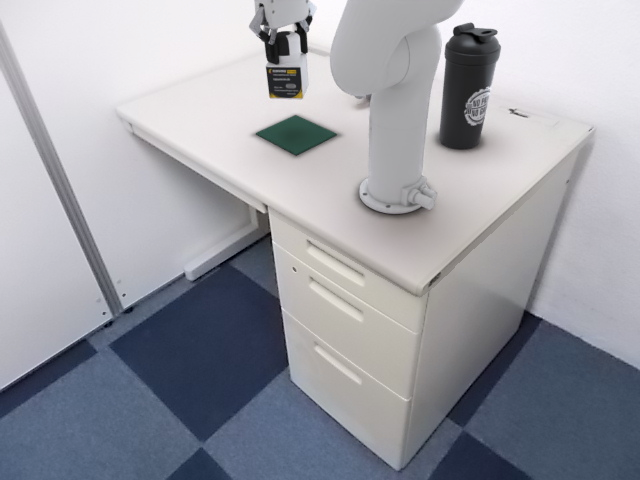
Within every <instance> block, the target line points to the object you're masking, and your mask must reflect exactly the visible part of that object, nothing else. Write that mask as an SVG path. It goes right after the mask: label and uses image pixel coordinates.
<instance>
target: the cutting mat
mask: <svg viewBox="0 0 640 480" xmlns="http://www.w3.org/2000/svg"><path fill="white" fill-rule="evenodd" d="M255 135H256V136H258V137H259V138H262V139H264V140H266V141H268V142H269V143H272V144H273V145H275V146H277V147H279V148H281V149H283V150H285V151H287V152H289V153H290V154H292V155H294V156H299V155H301V154H303V153H304V152H306V151H309V150H311V149H312V148H314V147H316V146H319V145H320V144H323V143H324V142H326V141H328V140H330V139H332V138H334V137H336V136H337V135H338V134H337V133H336V132H334V131H333V130H330V129H328V128H325V127H324V126H321V125H319V124H316V123H315V122H312V121H310V120H308V119H306V118H303V117H301V116H299V115H297V114H295V115H292V116H290V117H288V118H285V119H283V120H281V121H278V122H276V123H274V124H272V125H270V126H267V127H266V128H264V129H261V130H259V131H257V132H255Z"/></svg>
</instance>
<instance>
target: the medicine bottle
mask: <svg viewBox="0 0 640 480" xmlns="http://www.w3.org/2000/svg"><path fill="white" fill-rule="evenodd" d="M274 43H277V45H278V54H279V64H277V65H276V64H273V63H270V62H268V61H267V63H266V65H265V72H266V79H267V88H268V96H269V99H270V100H303V99H304V97H305V96H306V92H307V90H308V89H309V87H310V86H309V85H310V84H309V68H308V57H307V55H308V53H306V54H304V53H301V47H300V36H299V35H298V34H297V33H295V32H294V31H291V30H281V31H277V34H276V38H275V42H274Z"/></svg>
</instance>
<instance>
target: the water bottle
mask: <svg viewBox="0 0 640 480" xmlns="http://www.w3.org/2000/svg"><path fill="white" fill-rule="evenodd" d="M498 33H499V31H498V30H497V29H495V28H483V27H475V24H474V23H473V22H466V23H465V22H464V23H462V24H459V25H456V26H454V27H453V29H452V36H451V37H450V38H449V39H448V41H447V42H446V43H445V45H444V59H445V63H444V76H443V85H442V96H441V97H442V99H441V111H440V121H439V132H438V141H439V143H440V144H441V145H442V146H444V147H446V148H449V149H452V150H461V151H463V150H471V149H473V148H476V147H477V146H479V145H480V141H481V136H482V133H483V132H482V131H483V127H484V123H485V117H486V114H487V110H488V105H489V100H490V96H491V92H492V85H493V81H494V76H495V71H496V68H497V67H496V66H497V62H498V61H499V60H500V57H501V51H502V46H501V44H500V42H499V39H498V38H497V37H496V35H498Z"/></svg>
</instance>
